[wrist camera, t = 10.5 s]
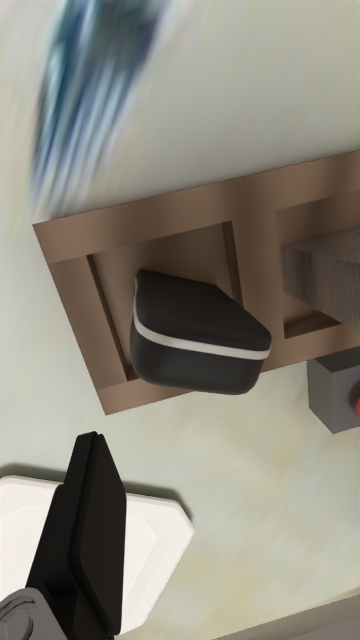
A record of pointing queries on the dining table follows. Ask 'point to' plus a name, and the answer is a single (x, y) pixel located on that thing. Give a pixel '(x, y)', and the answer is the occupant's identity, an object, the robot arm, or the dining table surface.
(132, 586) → the plate
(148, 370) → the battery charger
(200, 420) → the dining table surface
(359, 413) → the button
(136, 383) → the wooden sorting tray
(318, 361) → the button housing
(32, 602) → the robot arm
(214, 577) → the dining table surface
